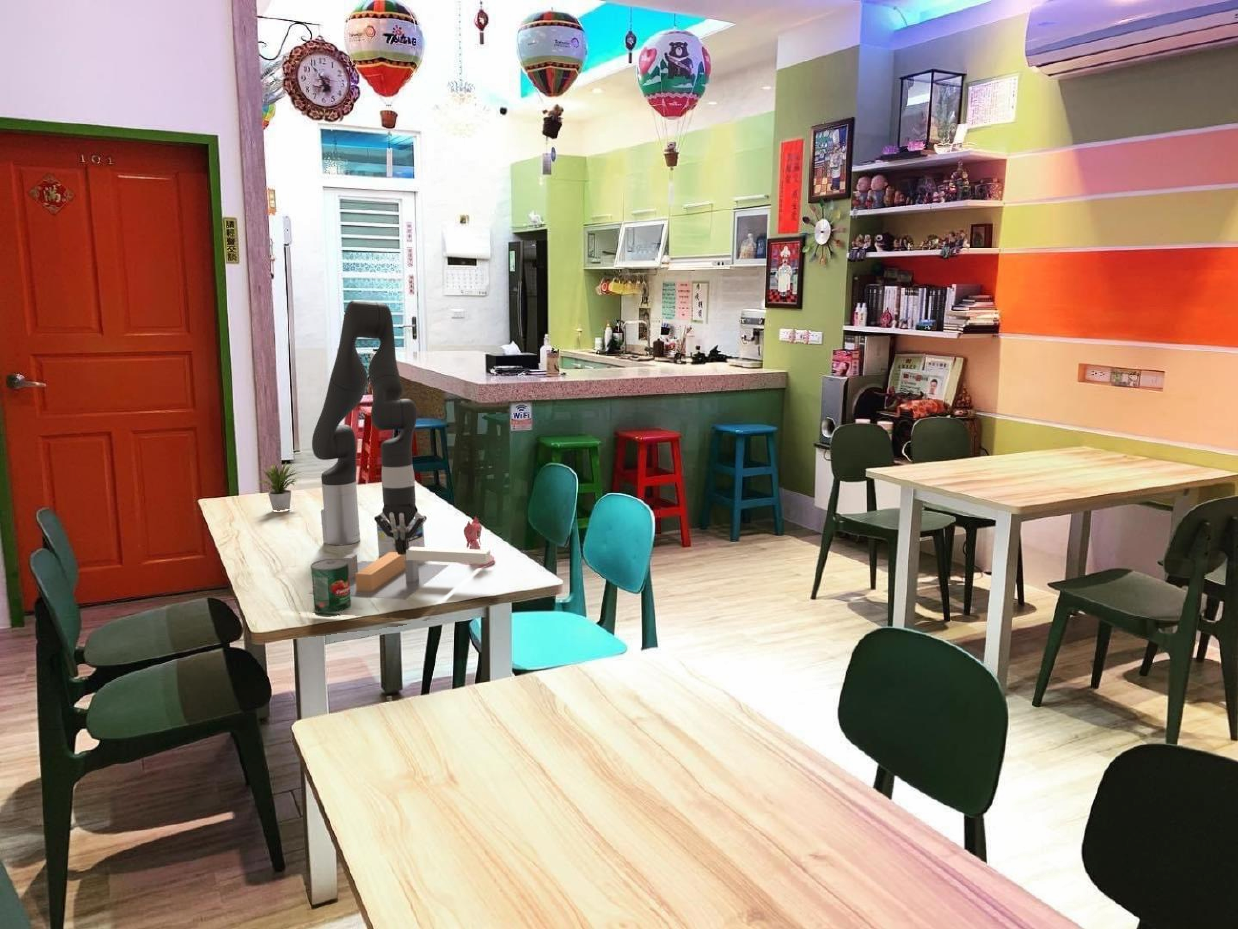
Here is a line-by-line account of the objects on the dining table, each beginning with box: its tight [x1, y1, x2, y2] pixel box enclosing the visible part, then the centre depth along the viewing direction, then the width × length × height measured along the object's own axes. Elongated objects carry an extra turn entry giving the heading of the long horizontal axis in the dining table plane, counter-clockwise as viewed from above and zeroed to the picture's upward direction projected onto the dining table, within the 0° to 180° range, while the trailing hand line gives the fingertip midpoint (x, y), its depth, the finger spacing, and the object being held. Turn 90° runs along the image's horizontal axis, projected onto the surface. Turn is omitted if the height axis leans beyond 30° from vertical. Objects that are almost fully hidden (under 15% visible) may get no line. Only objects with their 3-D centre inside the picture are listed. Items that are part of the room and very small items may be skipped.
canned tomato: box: [310, 557, 352, 618], centre depth 198 cm, size 8×8×11 cm
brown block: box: [355, 552, 406, 591], centre depth 217 cm, size 4×18×4 cm, turn 169°
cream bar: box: [406, 546, 491, 565], centre depth 213 cm, size 20×3×2 cm, turn 79°
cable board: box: [308, 553, 449, 600], centre depth 217 cm, size 24×26×6 cm
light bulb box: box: [376, 517, 426, 560], centre depth 237 cm, size 11×7×11 cm, turn 65°
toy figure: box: [459, 516, 495, 569], centre depth 232 cm, size 10×10×12 cm
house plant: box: [259, 461, 303, 511], centre depth 290 cm, size 14×14×16 cm
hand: (402, 553), depth 215 cm, fingers closed
